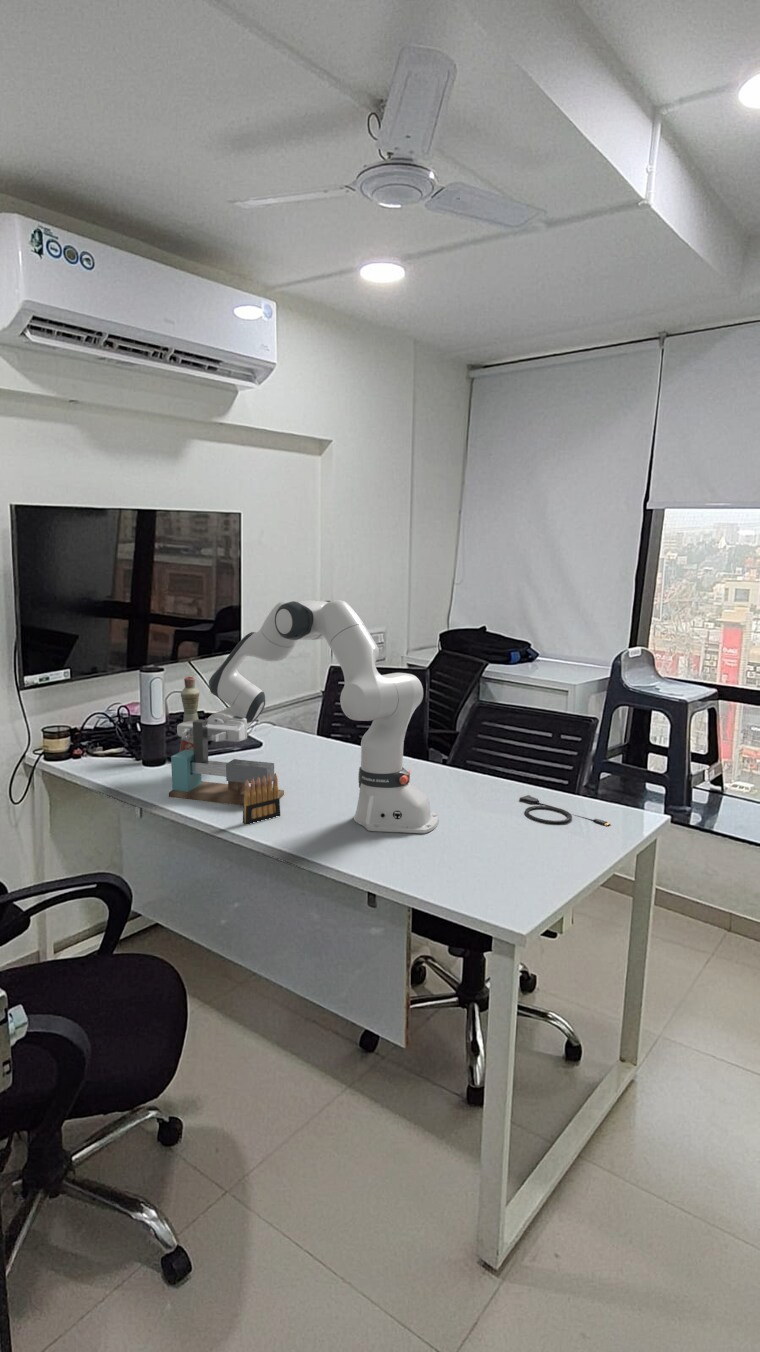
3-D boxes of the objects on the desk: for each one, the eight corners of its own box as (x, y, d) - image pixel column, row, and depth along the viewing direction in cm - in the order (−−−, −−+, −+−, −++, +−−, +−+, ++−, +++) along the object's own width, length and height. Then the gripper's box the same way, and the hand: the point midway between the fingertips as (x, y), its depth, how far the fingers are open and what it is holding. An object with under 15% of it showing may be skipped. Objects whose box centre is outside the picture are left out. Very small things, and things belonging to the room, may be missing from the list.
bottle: (204, 753, 267) (202, 673, 262) (207, 760, 259) (205, 678, 254) (178, 755, 265) (175, 674, 260) (180, 762, 256) (177, 679, 251)
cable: (580, 838, 198) (581, 833, 197) (496, 809, 218) (496, 804, 218) (610, 826, 206) (611, 821, 206) (526, 799, 227) (527, 794, 227)
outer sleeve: (274, 779, 222) (274, 763, 221) (267, 785, 217) (266, 767, 216) (234, 775, 225) (234, 759, 224) (226, 780, 220) (226, 763, 219)
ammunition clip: (246, 825, 202) (245, 780, 200) (242, 823, 203) (241, 779, 201) (280, 816, 209) (280, 773, 207) (276, 814, 210) (276, 771, 208)
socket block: (201, 783, 230) (200, 750, 228) (187, 791, 222) (186, 758, 221) (186, 781, 231) (185, 749, 230) (172, 790, 224) (171, 756, 222)
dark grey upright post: (244, 774, 223) (244, 723, 220) (239, 778, 220) (239, 725, 217) (185, 768, 228) (184, 718, 225) (179, 771, 225) (178, 720, 222)
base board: (284, 795, 226) (283, 776, 225) (267, 808, 214) (266, 789, 213) (189, 784, 234) (189, 767, 233) (168, 797, 222) (168, 778, 221)
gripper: (190, 713, 237) (166, 723, 224) (251, 718, 232) (230, 729, 219) (190, 733, 239) (166, 744, 225) (251, 739, 233) (231, 751, 220)
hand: (198, 737), depth 222 cm, fingers open, 8 cm apart
